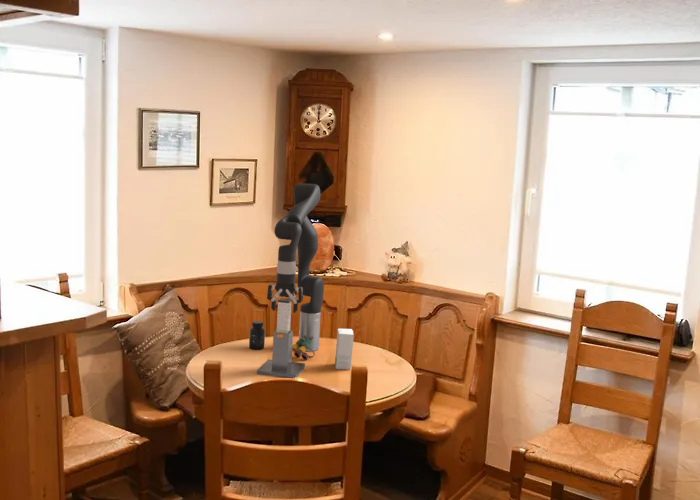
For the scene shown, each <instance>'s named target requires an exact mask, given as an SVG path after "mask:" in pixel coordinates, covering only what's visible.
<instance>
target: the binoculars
mask: <svg viewBox="0 0 700 500" xmlns="http://www.w3.org/2000/svg"><path fill="white" fill-rule="evenodd" d="M306 338H307V335H305V336H304V337H303V338H300V339H299V338H298V340H297V341H296V342H295V344H292V351H294V353H293V354H294V357H296V358H297V359H299V358H302V359H303V360H304V361H307V360H308V359H309V358H313V357H315V355H316V354H315V353H316V352H315V351H313V350H312V349H311V347H309V345H310V343H311V340H312V339H313V338H314V337H312V336H310V338H309V339H306ZM299 347H300V348H299ZM307 348H310V349H309V350H310V351H309V352H312V354H313V355H309V354H308V353H307V351H306V349H307Z"/></svg>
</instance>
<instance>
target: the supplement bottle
mask: <svg viewBox="0 0 700 500" xmlns="http://www.w3.org/2000/svg"><path fill="white" fill-rule="evenodd" d="M251 322H252V323H251V326H252V327H250V328H249V338H248V339H249V341H248V348H249V349H250V350H253V351H261V350H264V349H265V342H266V341H265V339H266V338H265V337H266V328H264V322H263V321H261V320H253V321H251Z"/></svg>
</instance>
